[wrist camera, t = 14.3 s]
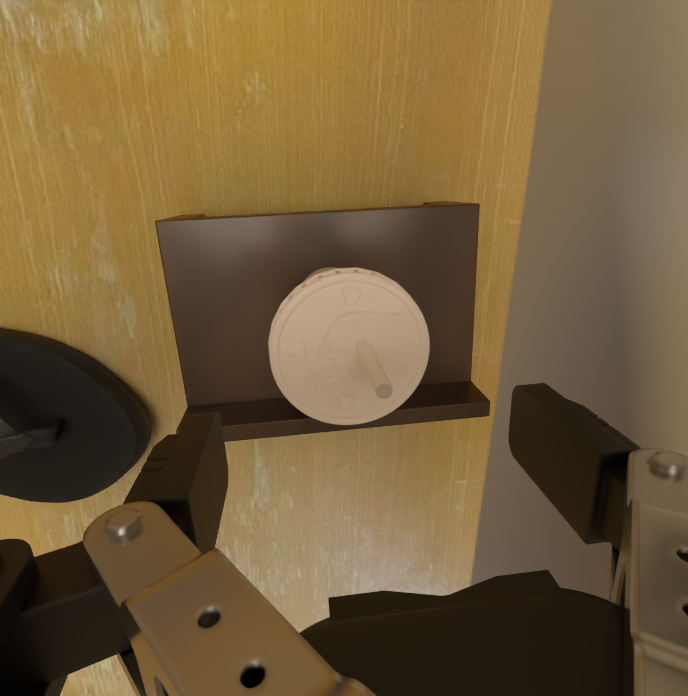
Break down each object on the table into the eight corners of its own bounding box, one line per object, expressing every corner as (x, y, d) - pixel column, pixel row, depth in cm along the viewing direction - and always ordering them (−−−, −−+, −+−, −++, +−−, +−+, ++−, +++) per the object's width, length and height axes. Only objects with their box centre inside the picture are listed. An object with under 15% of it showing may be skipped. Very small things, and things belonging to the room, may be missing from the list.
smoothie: (405, 304, 27) (512, 409, 14) (323, 370, 28) (353, 528, 15) (337, 218, 25) (389, 248, 12) (251, 292, 26) (212, 396, 13)
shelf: (446, 201, 31) (503, 204, 23) (441, 362, 35) (489, 416, 27) (179, 215, 30) (136, 224, 21) (206, 382, 34) (178, 446, 25)
